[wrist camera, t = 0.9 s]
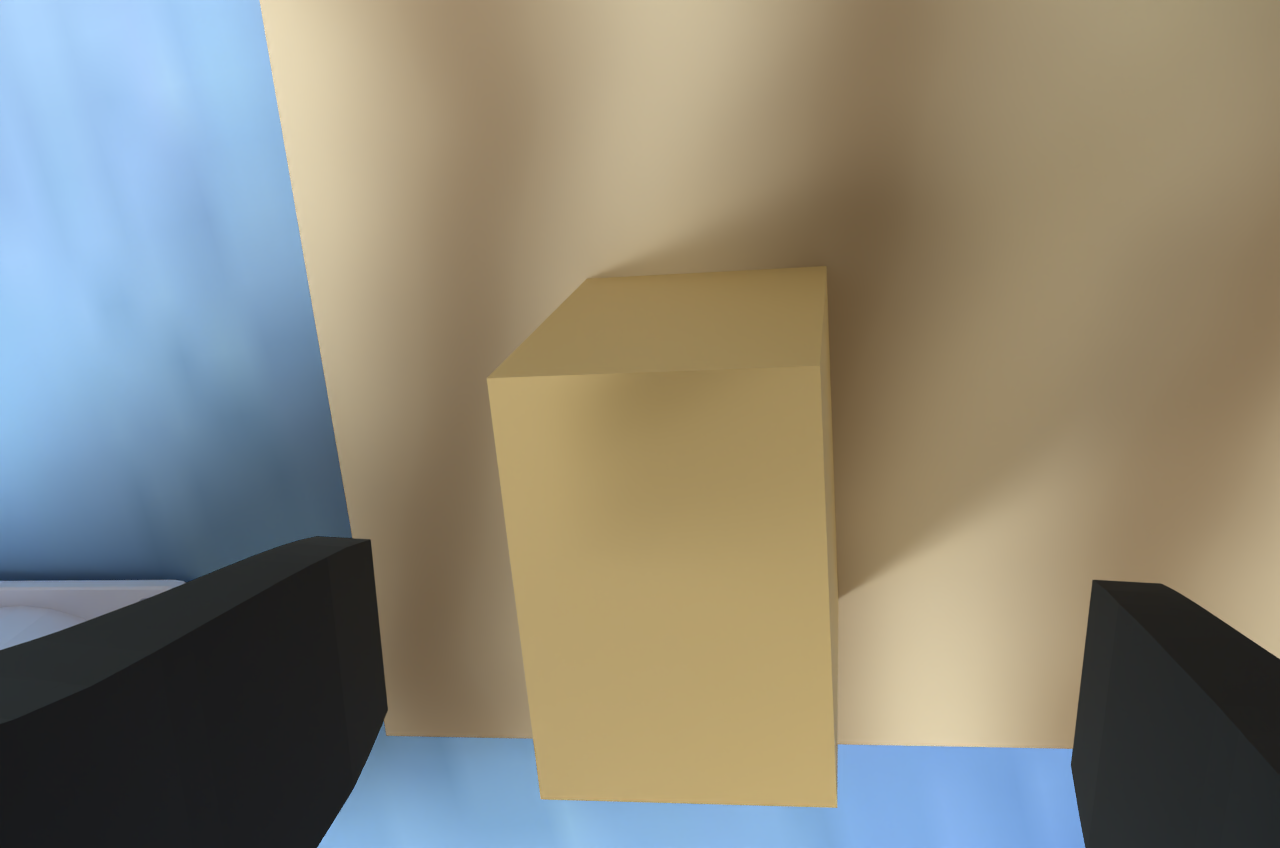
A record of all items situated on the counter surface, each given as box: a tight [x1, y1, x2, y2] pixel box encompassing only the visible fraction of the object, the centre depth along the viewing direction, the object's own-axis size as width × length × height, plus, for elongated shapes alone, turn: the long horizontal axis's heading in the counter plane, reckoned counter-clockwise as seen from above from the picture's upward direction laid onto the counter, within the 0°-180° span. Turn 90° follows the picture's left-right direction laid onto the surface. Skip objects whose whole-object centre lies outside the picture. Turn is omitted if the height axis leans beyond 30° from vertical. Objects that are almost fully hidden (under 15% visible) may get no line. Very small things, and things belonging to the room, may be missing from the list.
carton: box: [487, 266, 838, 808], centre depth 18 cm, size 6×4×6 cm
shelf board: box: [260, 0, 1280, 749], centre depth 18 cm, size 18×22×4 cm
